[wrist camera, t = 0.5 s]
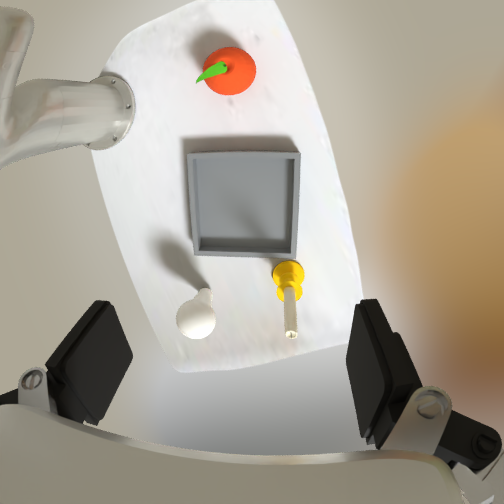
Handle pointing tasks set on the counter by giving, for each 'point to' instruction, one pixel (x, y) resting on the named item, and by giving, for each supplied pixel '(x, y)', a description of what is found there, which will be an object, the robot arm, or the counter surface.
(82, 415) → the robot arm
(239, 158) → the tray
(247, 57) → the clementine
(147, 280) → the counter surface
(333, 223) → the counter surface
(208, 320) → the lightbulb
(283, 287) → the candle
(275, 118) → the counter surface
